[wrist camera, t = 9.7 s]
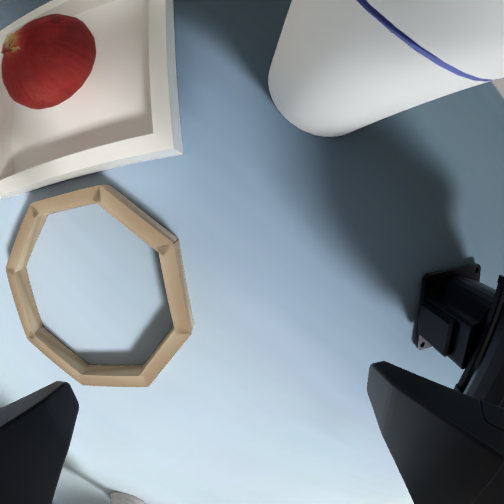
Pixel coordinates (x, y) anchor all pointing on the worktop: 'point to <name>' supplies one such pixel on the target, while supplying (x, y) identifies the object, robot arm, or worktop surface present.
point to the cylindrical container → (380, 58)
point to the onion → (47, 60)
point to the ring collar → (171, 275)
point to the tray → (98, 99)
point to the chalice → (124, 499)
